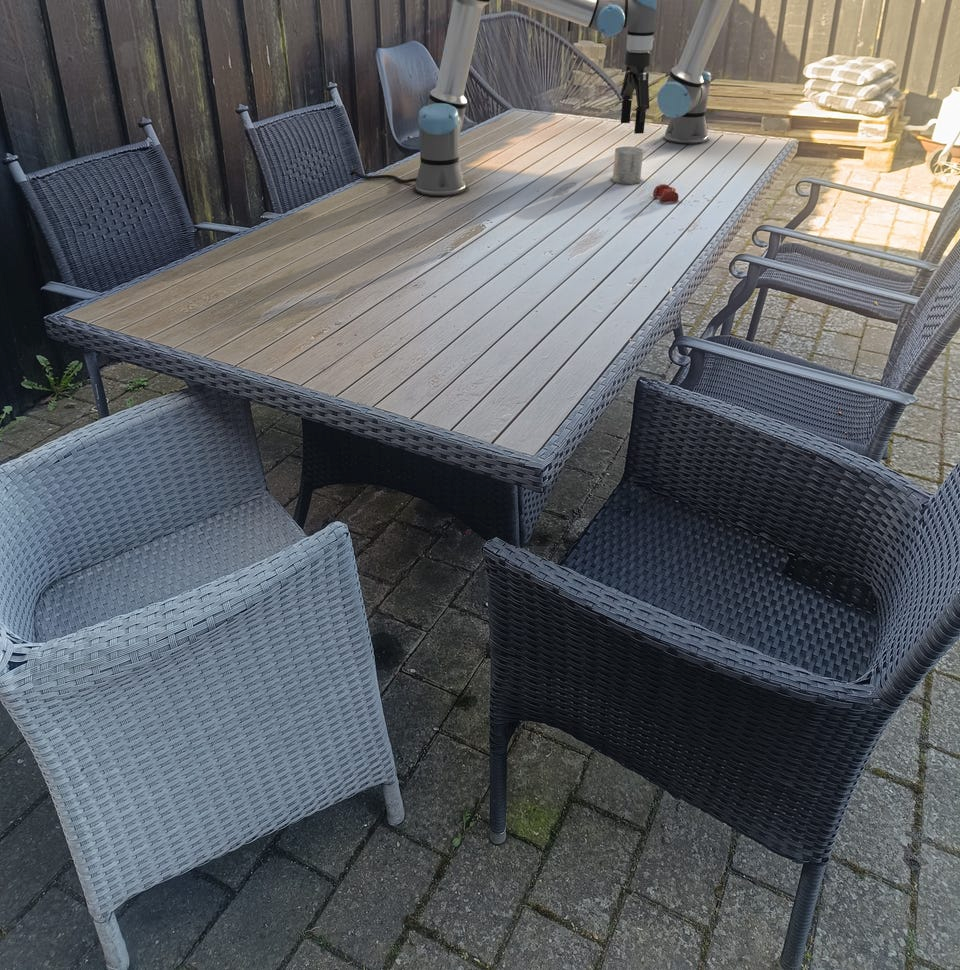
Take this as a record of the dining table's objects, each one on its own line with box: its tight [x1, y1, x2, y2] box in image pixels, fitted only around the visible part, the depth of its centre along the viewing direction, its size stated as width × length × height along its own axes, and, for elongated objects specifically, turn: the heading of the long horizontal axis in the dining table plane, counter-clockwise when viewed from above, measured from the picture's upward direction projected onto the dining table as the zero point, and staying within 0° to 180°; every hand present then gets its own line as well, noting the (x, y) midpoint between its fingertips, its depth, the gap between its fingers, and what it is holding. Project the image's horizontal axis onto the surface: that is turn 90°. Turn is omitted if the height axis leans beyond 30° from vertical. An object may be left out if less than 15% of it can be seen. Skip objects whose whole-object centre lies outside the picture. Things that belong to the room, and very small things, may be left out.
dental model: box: [652, 183, 679, 203], centre depth 249 cm, size 6×4×8 cm
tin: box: [612, 146, 644, 185], centre depth 264 cm, size 9×9×9 cm
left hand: (631, 128), depth 258 cm, fingers open, 13 cm apart
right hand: (588, 32), depth 295 cm, fingers open, 13 cm apart
